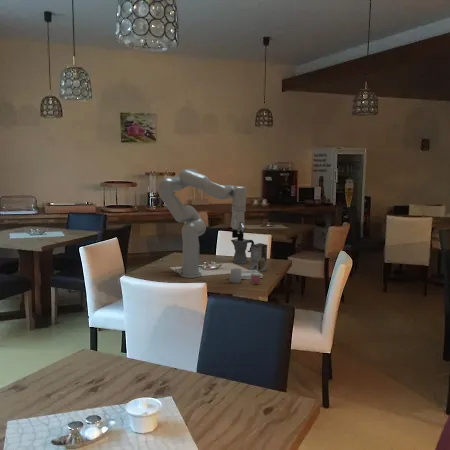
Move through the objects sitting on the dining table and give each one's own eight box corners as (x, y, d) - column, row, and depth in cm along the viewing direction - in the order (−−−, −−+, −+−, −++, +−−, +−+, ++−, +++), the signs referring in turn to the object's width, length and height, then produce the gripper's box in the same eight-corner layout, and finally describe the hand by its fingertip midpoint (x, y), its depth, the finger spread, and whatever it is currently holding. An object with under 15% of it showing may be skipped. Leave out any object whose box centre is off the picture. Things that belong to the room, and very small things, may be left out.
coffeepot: (228, 263, 331) (229, 236, 328) (230, 260, 340) (231, 233, 337) (252, 265, 329) (253, 237, 326) (253, 262, 338) (255, 235, 335)
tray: (241, 279, 292) (241, 275, 291) (234, 274, 303) (235, 270, 303) (262, 278, 295) (262, 274, 295) (255, 273, 307) (255, 269, 306)
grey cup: (232, 283, 283) (232, 271, 282) (229, 280, 289) (229, 268, 288) (242, 283, 285) (242, 270, 284) (239, 280, 290) (239, 268, 289)
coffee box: (258, 268, 321) (259, 242, 319) (266, 270, 317) (267, 244, 315) (249, 270, 314) (250, 244, 312) (258, 272, 310) (259, 246, 308)
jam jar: (252, 285, 282) (253, 274, 281) (249, 282, 287) (250, 272, 286) (261, 284, 283) (262, 274, 282) (258, 282, 288) (258, 271, 287)
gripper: (227, 206, 288) (226, 236, 290) (237, 210, 271) (235, 242, 274) (240, 206, 290) (239, 236, 293) (250, 210, 274) (249, 242, 276)
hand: (237, 239), depth 283 cm, fingers open, 9 cm apart
